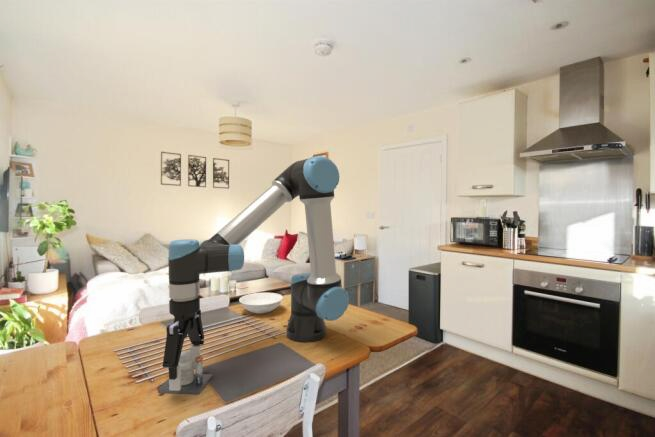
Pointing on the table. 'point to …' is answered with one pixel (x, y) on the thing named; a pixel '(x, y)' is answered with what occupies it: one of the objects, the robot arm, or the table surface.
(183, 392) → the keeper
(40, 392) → the table surface
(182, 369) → the pill bottle
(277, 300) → the bowl
